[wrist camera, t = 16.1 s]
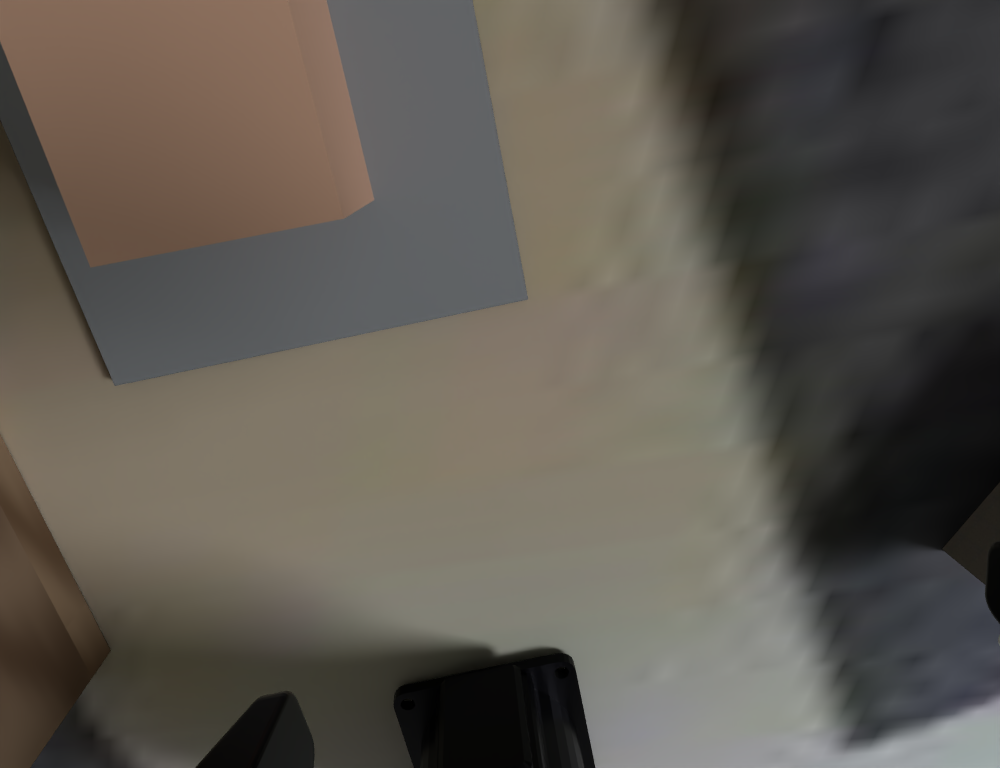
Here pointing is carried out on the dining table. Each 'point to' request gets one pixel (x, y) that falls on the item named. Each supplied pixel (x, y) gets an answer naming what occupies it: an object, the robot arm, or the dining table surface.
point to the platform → (977, 537)
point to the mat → (330, 245)
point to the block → (187, 118)
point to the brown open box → (37, 627)
